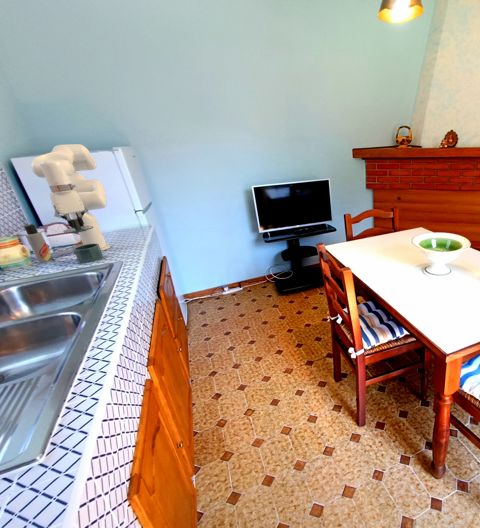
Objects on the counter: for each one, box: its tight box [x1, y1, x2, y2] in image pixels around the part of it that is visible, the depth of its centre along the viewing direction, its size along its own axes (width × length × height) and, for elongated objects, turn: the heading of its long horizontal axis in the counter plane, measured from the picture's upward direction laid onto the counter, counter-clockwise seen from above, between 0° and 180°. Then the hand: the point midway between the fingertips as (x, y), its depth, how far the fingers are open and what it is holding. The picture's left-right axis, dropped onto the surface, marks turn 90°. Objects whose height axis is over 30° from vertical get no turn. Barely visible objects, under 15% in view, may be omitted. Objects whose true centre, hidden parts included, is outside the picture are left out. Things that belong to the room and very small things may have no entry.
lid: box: [63, 218, 93, 234], centre depth 145 cm, size 11×11×6 cm
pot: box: [72, 244, 105, 264], centre depth 151 cm, size 10×10×7 cm
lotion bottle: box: [23, 223, 55, 264], centre depth 149 cm, size 6×6×20 cm
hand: (77, 226), depth 146 cm, fingers closed on lid, 2 cm apart
